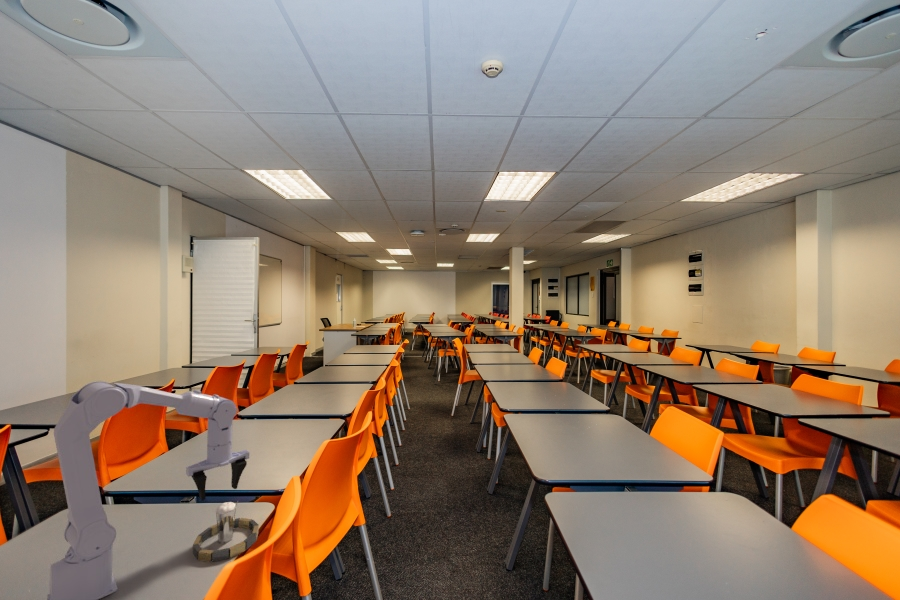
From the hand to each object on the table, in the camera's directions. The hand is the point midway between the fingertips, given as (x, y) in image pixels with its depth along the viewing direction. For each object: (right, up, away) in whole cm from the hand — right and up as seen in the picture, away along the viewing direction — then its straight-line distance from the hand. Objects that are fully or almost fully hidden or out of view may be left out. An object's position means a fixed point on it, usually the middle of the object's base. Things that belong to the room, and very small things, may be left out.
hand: (218, 493), depth 97 cm
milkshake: (+4, -11, -3) cm, 12 cm away
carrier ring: (+5, -10, -4) cm, 12 cm away
